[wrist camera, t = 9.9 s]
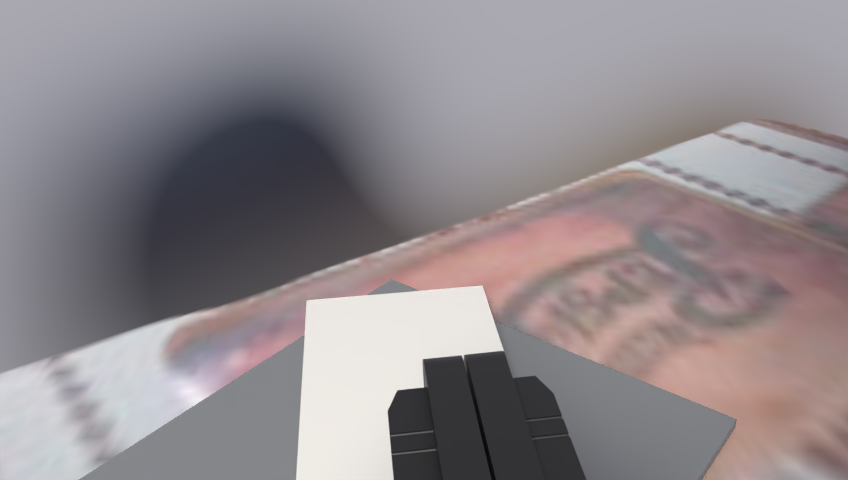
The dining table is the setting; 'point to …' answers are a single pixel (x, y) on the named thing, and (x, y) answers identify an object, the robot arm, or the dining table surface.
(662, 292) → the dining table surface
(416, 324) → the tile
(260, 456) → the mat
